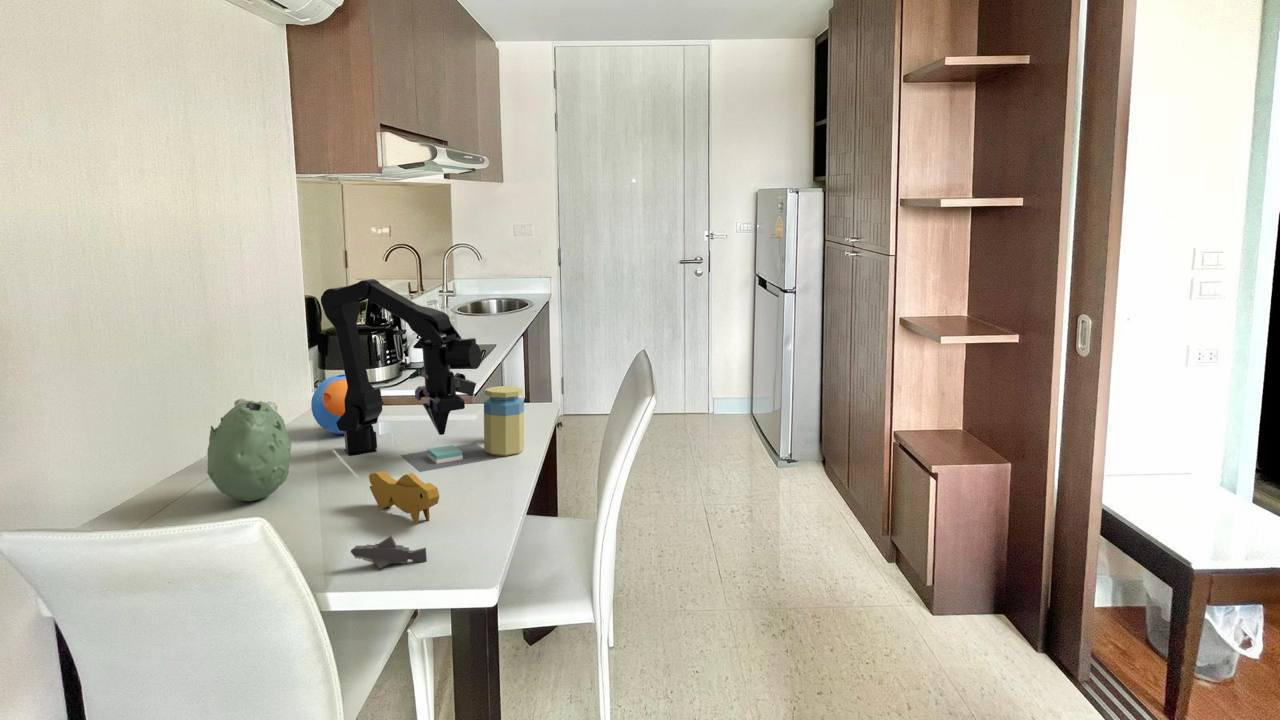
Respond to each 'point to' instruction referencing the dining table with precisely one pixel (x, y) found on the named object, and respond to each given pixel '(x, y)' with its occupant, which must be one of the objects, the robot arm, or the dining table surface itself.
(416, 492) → the decorative fish
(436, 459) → the tile
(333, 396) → the treat dispenser ball
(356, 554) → the animal figurine
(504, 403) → the jar
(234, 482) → the green rounded lump
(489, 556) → the dining table surface
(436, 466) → the mat
